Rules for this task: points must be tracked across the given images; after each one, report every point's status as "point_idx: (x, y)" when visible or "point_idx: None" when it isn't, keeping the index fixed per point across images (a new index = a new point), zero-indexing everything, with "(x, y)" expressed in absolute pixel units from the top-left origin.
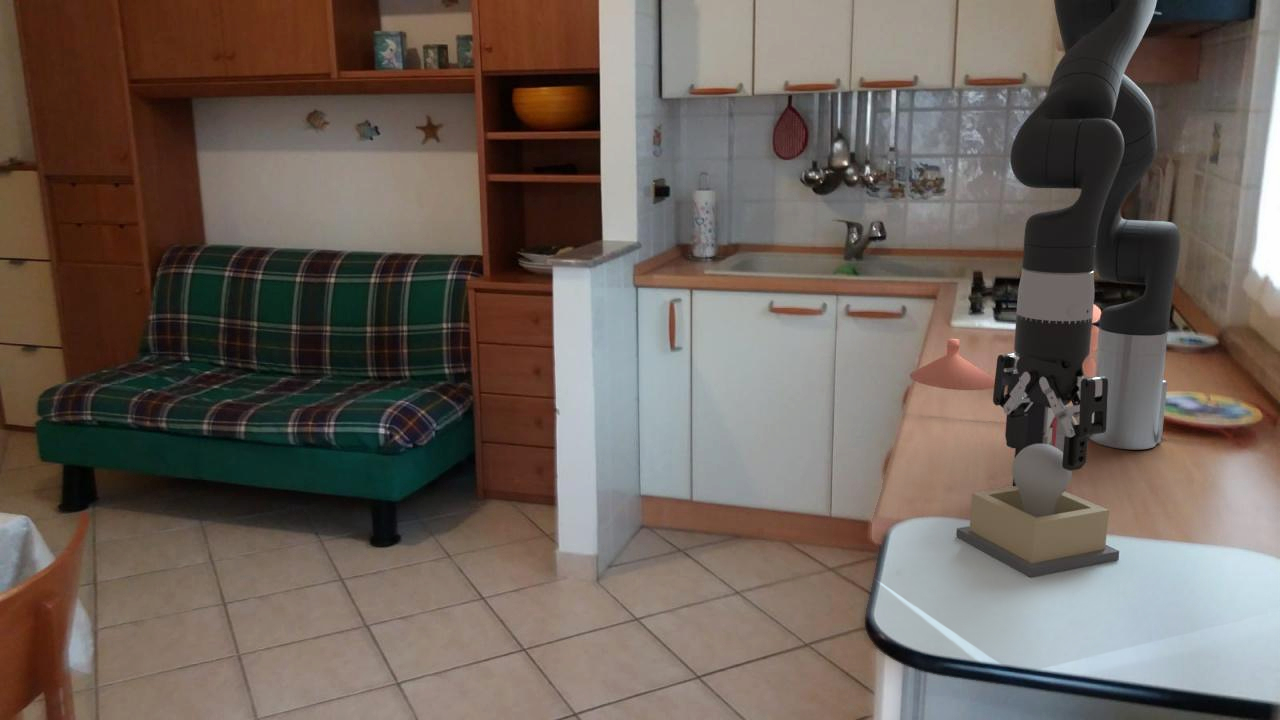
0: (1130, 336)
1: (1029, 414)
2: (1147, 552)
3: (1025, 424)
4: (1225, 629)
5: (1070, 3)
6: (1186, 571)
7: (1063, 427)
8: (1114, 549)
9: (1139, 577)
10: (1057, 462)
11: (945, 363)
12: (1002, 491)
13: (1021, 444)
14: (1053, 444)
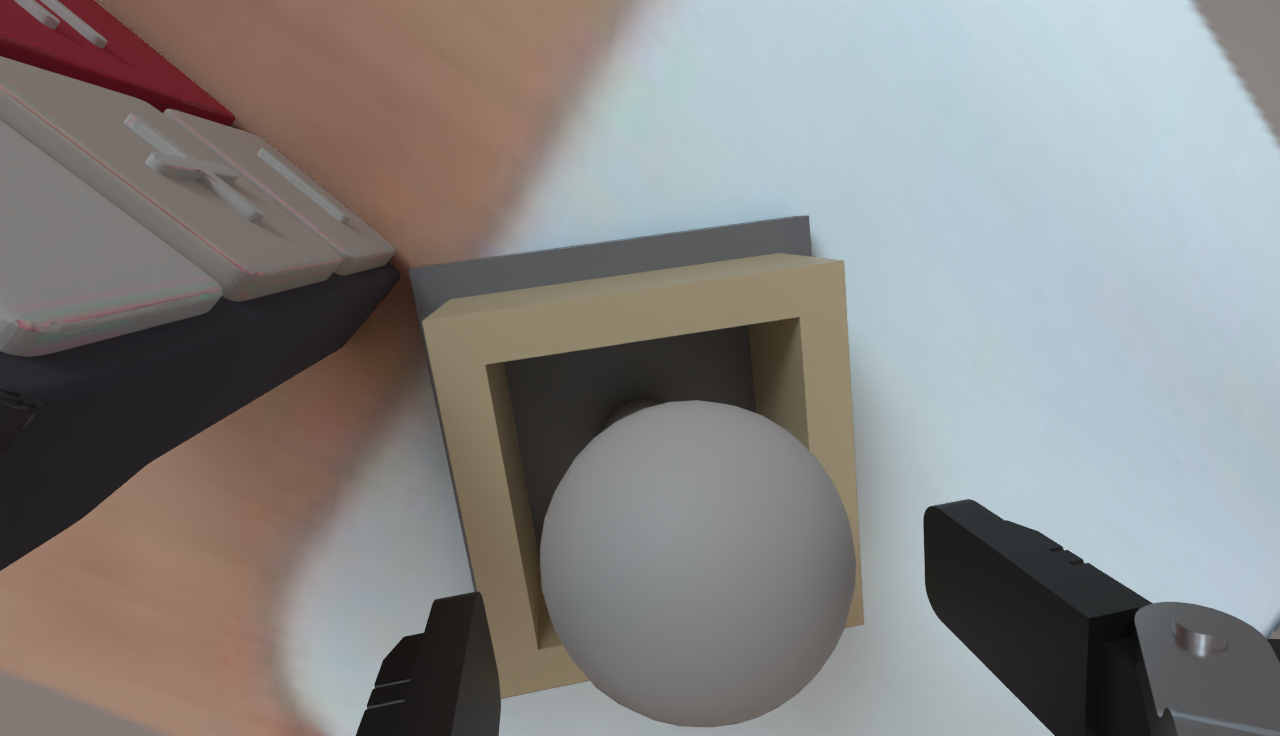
0: None
1: (67, 469)
2: (774, 65)
3: (460, 704)
4: (1227, 254)
5: None
6: (938, 57)
7: None
8: (792, 222)
9: (921, 245)
10: (852, 589)
11: None
12: (512, 571)
13: (485, 626)
14: None
